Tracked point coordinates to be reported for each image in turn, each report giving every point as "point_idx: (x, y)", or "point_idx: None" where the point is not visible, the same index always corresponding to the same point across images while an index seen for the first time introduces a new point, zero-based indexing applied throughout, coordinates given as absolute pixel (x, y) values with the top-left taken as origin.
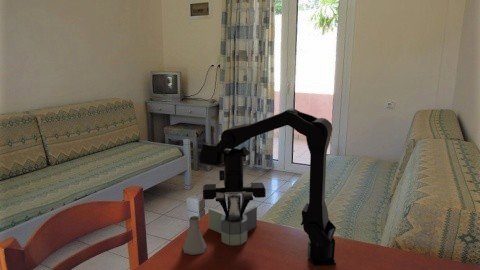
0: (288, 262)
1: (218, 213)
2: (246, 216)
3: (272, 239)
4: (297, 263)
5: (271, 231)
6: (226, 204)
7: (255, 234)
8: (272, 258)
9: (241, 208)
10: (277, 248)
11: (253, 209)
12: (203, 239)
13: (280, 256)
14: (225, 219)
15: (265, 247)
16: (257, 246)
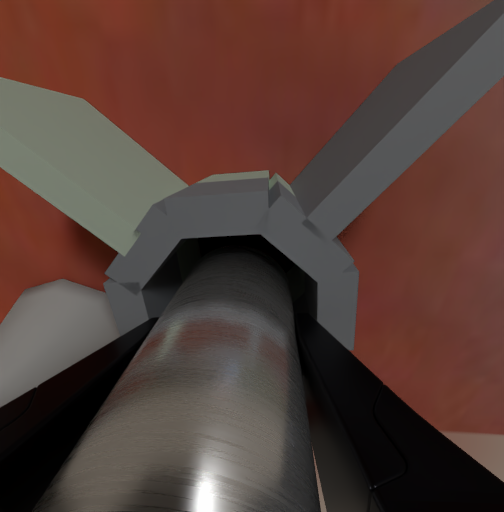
0: (462, 419)
1: (59, 202)
2: (355, 294)
3: (463, 258)
4: (496, 425)
5: (496, 162)
6: (70, 431)
7: (377, 201)
8: (407, 396)
9: (317, 446)
10: (457, 336)
11: (489, 84)
12: (87, 342)
13: (446, 386)
14: (158, 270)
15: (400, 326)
16: (362, 317)
